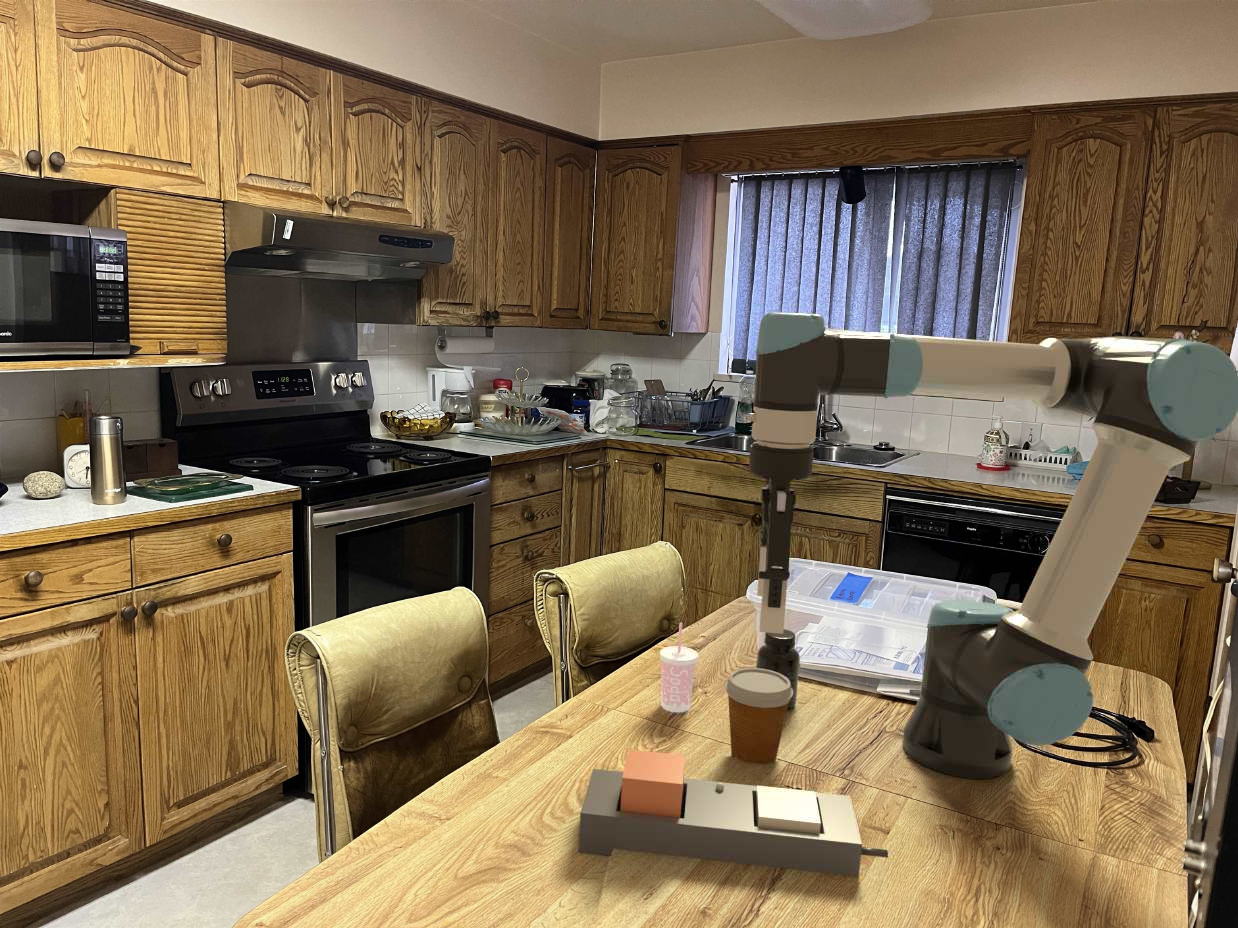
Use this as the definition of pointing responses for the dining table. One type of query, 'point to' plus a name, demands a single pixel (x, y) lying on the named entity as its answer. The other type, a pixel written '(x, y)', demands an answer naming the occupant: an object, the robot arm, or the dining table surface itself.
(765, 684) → the disposable coffee cup
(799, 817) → the button ivory
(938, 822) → the dining table surface
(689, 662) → the beverage cup
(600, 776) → the push button control box
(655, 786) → the button orange
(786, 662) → the supplement bottle
